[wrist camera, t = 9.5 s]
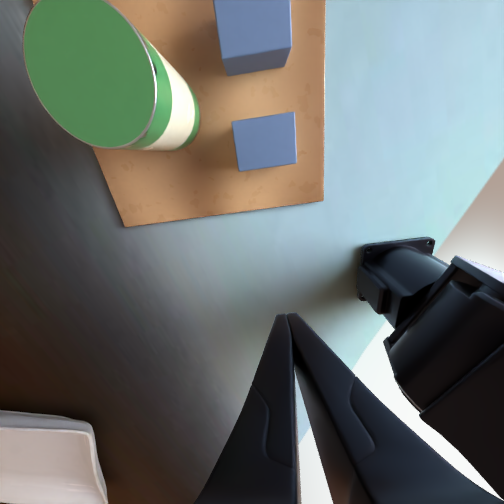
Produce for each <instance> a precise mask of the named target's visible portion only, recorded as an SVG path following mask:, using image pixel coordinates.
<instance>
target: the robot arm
mask: <svg viewBox="0 0 504 504" xmlns="http://www.w3.org/2000/svg"><path fill="white" fill-rule="evenodd" d="M428 241H429V243H428V244H427V242H428ZM434 245H435V240H434V239H432V238H430V237H423V238H415V239H406V240H398V241H390V242H381V243H373V244H366V245H364V246H363V247H362V252H361V262H360V266H359V267H358V276H357V289H358V294H357V296H358V298H359V299H360V300H361V301H367V302H368V303H369V304H370V305H371V307H372V308H373V309H374V311H375V312H376V313H377V314H383V315H384V317H385V318H386V319H387V320H388V322H389V323H390V324H391V325H392V326H393V328H394V329H395V330H394V332H393V333H392V334H391V335H390V336H389V337H387V338H386V339H385V340H384V341H383V343H384V346H385V349H386V352H387V354H388V357H389V361H390V364H391V366H392V370H393V373H394V378H395V381H396V382H397V384H398V386H399V388H400V390H401V391H402V393H403V395H404V396H405V397H406V398H407V400H408V401H409V402H410V403H411V404H412V405H413V406H414V407H415V408H416V409H417V410H418V411H419V412H420V414H419V416H420V418H421V419H422V420H423V421H424V422H425V423H426V424H428V425H429V426H430V427H432V428H433V429H434V430H436V431H437V432H438V433H440V434H441V435H442V436H443V437H444V438H445V439H446V440H447V441H448V442H449V443H451V444H452V445H453V446H454V447H455V448H456V449H457V450H458V451H459V452H460V453H461V454H462V455H463V456H464V457H465V458H466V459H467V460H468V462H469V463H471V465H472V466H473V467H474V468H475V469H476V470H477V471H478V473H479V474H480V475H481V476H482V477H483V478H484V479H485V480H486V481H487V483H488V484H489V485H490V486H491V487H492V488H493V489H494V491H495V492H496V493H497V494H498V495H499V496H500V497H501V498H502V499H503V500H504V272H501V271H498V270H495V269H493V268H490V267H487V266H484V265H481V264H478V263H476V262H473V261H470V260H467V259H464V258H462V257H459V256H455V257H454V258H453V259H452V260H451V264H450V265H448V264H447V263H445V262H443V261H441V260H439V259H438V258H436V257H434V256H433V255H432V253H433V249H434ZM368 248H370V249H369V250H368V251H366V250H367V249H368ZM362 296H363V297H362ZM294 368H295V372H294ZM295 373H296V376H297V380H298V383H299V387H300V390H301V394H302V397H303V400H304V404H305V407H306V411H307V414H308V418H309V421H310V425H311V428H312V431H313V435H314V438H315V442H316V445H317V449H318V452H319V456H320V459H321V463H322V466H323V469H324V473H325V476H326V480H327V483H328V487H329V490H330V493H331V497H332V500H333V504H504V501H503V500H501V499H499V498H497V497H496V496H494V495H492V494H490V493H489V492H487V491H486V490H484V489H483V488H481V487H479V486H478V485H476V484H475V483H474V482H472V481H471V480H469V479H468V478H467V477H465V476H464V475H463V474H461V473H460V472H459V471H458V470H456V469H455V468H454V467H453V466H451V464H449V463H448V462H447V461H446V460H445V459H444V458H443V457H441V456H440V455H439V454H438V453H437V452H436V451H435V450H434V449H433V448H431V447H430V446H429V445H428V444H427V443H426V442H425V441H423V440H422V439H421V438H420V437H419V436H418V435H417V434H416V433H415V432H414V431H412V430H411V429H410V428H409V427H408V426H407V425H406V424H405V423H404V422H402V421H401V420H400V419H399V418H398V417H397V416H396V415H395V414H394V413H393V412H392V411H390V410H389V409H388V408H387V407H386V406H385V405H384V404H383V403H382V402H381V401H380V400H379V399H378V398H377V397H376V396H375V395H374V394H373V393H372V392H371V391H370V390H369V389H368V388H367V387H366V386H365V385H364V384H363V383H362V382H361V381H360V380H359V379H358V377H355V374H354V373H353V372H352V371H351V370H350V369H349V368H348V367H347V366H346V365H345V364H344V363H343V362H342V360H341V359H340V358H339V357H338V356H337V355H336V354H335V353H334V352H333V351H332V350H331V349H330V348H329V347H328V346H327V344H326V343H325V342H324V341H323V340H322V339H321V338H320V337H319V336H318V335H317V334H316V333H315V332H314V331H313V330H312V328H311V327H310V326H309V325H308V324H307V323H306V322H305V321H304V320H303V319H302V318H301V317H300V316H299V315H298V314H297V313H296V312H295V313H288V314H287V315H286V314H277V315H276V317H275V320H274V323H273V326H272V329H271V331H270V334H269V337H268V340H267V343H266V345H265V348H264V351H263V354H262V357H261V359H260V362H259V365H258V368H257V371H256V373H255V376H254V379H253V382H252V386H251V387H250V390H249V393H248V396H247V398H246V401H245V403H244V406H243V408H242V411H241V413H240V415H239V417H238V420H237V422H236V424H235V426H234V428H233V430H232V432H231V434H230V436H229V439H228V441H227V443H226V445H225V447H224V449H223V451H222V453H221V455H220V457H219V459H218V461H217V463H216V465H215V467H214V469H213V471H212V473H211V475H210V477H209V479H208V481H207V483H206V484H205V486H204V488H203V490H202V491H201V493H200V495H199V496H198V498H197V499H196V501H195V502H194V504H301V487H300V469H299V450H298V429H297V409H296V390H295Z"/></svg>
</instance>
